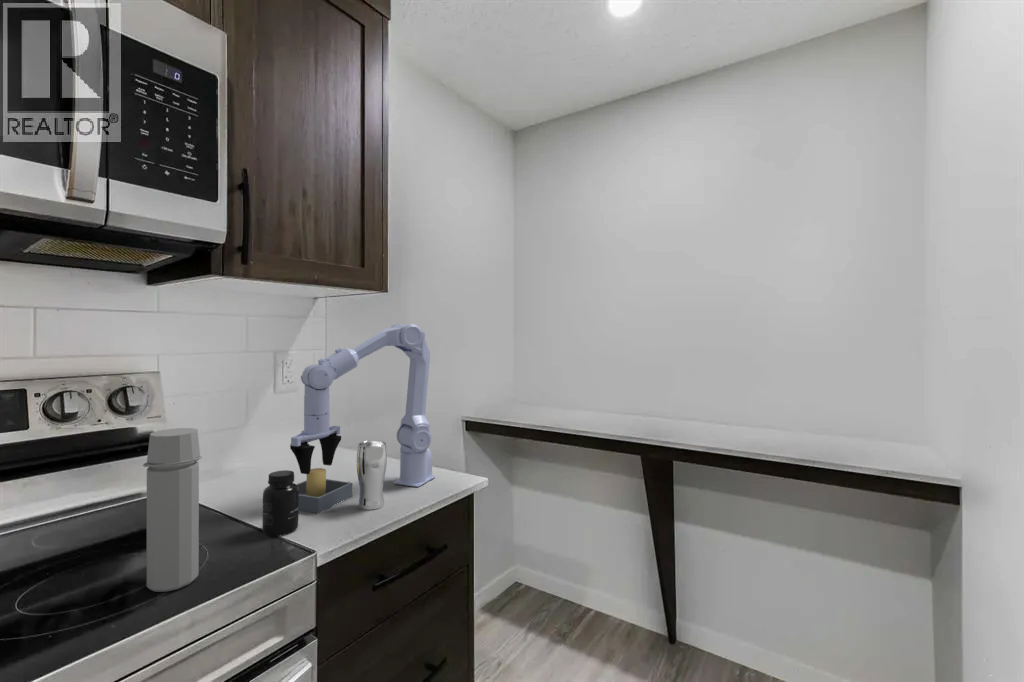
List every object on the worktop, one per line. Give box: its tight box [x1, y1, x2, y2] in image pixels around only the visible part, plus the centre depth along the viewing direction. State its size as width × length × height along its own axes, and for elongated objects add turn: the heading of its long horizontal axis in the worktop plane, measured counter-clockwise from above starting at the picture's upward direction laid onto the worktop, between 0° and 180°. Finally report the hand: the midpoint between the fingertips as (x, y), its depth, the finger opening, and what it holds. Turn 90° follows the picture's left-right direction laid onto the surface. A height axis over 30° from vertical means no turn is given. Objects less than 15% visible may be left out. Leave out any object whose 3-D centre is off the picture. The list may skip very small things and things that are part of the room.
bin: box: [295, 478, 353, 514], centre depth 116 cm, size 12×12×4 cm
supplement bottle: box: [261, 469, 300, 537], centre depth 99 cm, size 7×7×12 cm
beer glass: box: [356, 439, 388, 511], centre depth 114 cm, size 7×7×15 cm
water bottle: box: [142, 427, 203, 593], centre depth 79 cm, size 9×8×25 cm
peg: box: [305, 467, 327, 497], centre depth 116 cm, size 4×4×7 cm
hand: (316, 469), depth 116 cm, fingers open, 7 cm apart
